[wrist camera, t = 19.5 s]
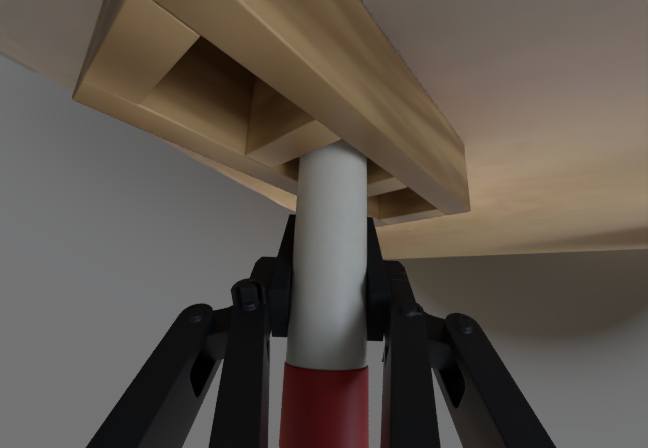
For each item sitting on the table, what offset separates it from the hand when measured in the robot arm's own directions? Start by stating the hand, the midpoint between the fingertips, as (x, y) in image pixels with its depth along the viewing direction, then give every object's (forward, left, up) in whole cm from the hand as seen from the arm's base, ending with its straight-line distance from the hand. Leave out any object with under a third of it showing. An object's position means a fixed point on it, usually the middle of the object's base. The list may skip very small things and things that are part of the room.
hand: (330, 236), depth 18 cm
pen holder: (-2, -3, -7) cm, 8 cm away
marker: (-2, -3, -5) cm, 6 cm away
